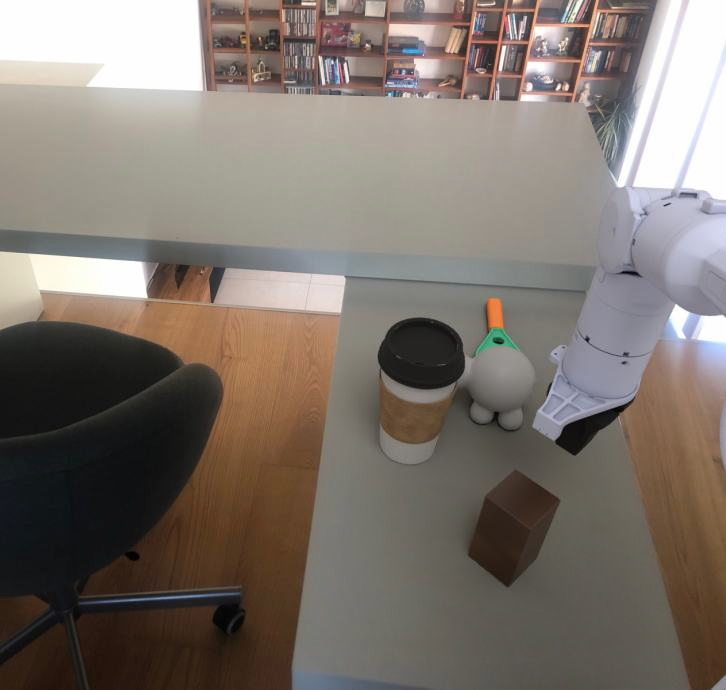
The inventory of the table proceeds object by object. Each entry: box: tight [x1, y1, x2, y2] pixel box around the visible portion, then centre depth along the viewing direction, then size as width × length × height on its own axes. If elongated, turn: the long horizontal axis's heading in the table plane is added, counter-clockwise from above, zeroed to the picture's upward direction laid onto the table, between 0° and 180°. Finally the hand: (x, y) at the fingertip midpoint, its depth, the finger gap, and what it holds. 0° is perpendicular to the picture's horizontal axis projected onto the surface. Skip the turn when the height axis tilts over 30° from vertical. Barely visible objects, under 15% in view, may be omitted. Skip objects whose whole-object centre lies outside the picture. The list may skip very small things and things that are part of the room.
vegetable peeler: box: [474, 297, 524, 357], centre depth 87 cm, size 15×6×2 cm, turn 170°
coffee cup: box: [376, 316, 466, 466], centre depth 71 cm, size 8×8×15 cm
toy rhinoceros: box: [456, 346, 538, 431], centre depth 77 cm, size 7×12×8 cm, turn 68°
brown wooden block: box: [467, 468, 562, 588], centre depth 62 cm, size 4×4×9 cm
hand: (568, 445), depth 62 cm, fingers closed
